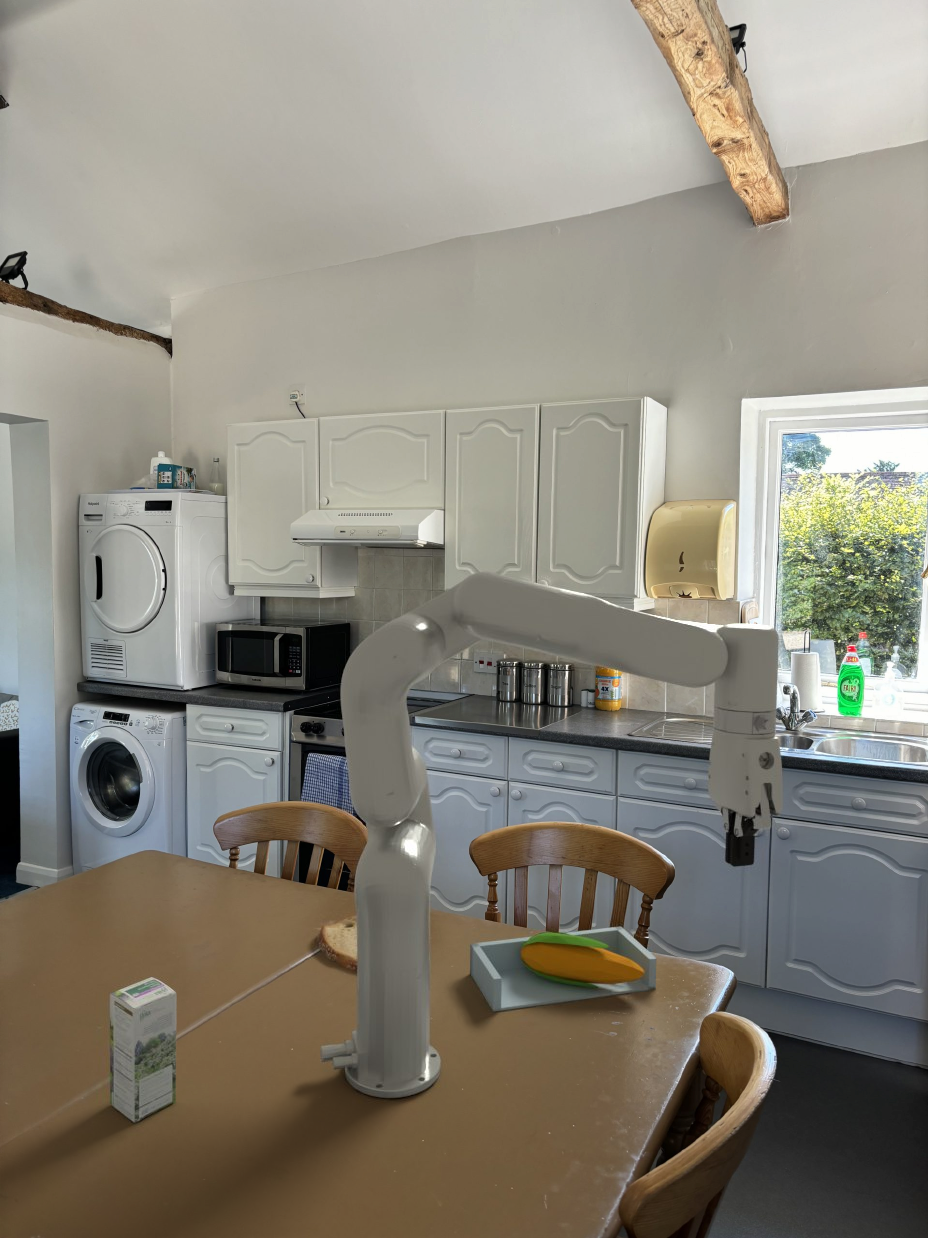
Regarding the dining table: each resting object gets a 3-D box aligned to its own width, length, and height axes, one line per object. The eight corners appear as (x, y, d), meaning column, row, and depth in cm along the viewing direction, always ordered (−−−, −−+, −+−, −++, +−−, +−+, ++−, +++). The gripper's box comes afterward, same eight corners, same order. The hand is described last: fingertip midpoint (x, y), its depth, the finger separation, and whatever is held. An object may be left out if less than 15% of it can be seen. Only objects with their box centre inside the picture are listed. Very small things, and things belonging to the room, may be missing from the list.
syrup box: (152, 1084, 110) (150, 974, 109) (178, 1103, 107) (177, 989, 106) (109, 1105, 106) (107, 991, 105) (135, 1126, 102) (133, 1007, 101)
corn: (527, 917, 144) (649, 936, 137) (527, 960, 145) (648, 981, 138) (514, 938, 137) (642, 959, 130) (515, 983, 138) (641, 1006, 131)
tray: (493, 1011, 129) (494, 979, 129) (469, 973, 141) (470, 944, 141) (655, 989, 137) (656, 958, 136) (620, 954, 149) (620, 926, 148)
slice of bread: (407, 979, 140) (407, 956, 140) (298, 972, 142) (299, 950, 141) (423, 932, 158) (424, 912, 157) (327, 926, 160) (327, 906, 159)
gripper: (808, 731, 103) (802, 882, 104) (735, 710, 117) (731, 843, 119) (754, 734, 101) (748, 888, 102) (686, 712, 115) (682, 847, 116)
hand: (739, 863), depth 110 cm, fingers closed
